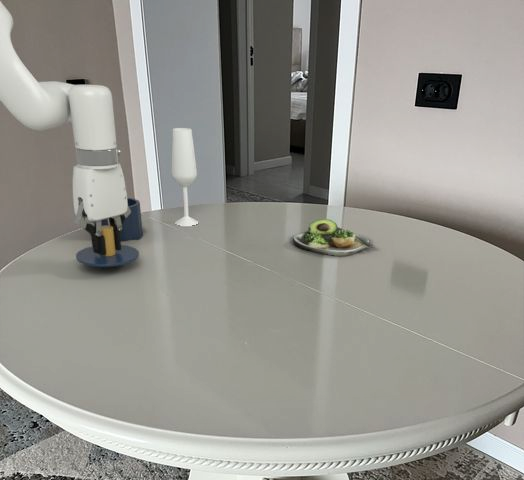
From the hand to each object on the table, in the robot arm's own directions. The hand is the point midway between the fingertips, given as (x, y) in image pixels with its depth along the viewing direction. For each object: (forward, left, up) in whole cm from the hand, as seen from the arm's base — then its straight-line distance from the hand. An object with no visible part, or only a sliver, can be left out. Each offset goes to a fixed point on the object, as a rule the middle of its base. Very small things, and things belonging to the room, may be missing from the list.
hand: (107, 250), depth 109 cm
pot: (-7, +25, -5) cm, 26 cm away
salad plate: (+46, +27, -5) cm, 54 cm away
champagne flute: (+7, +40, -5) cm, 41 cm away
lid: (0, 0, -1) cm, 1 cm away
